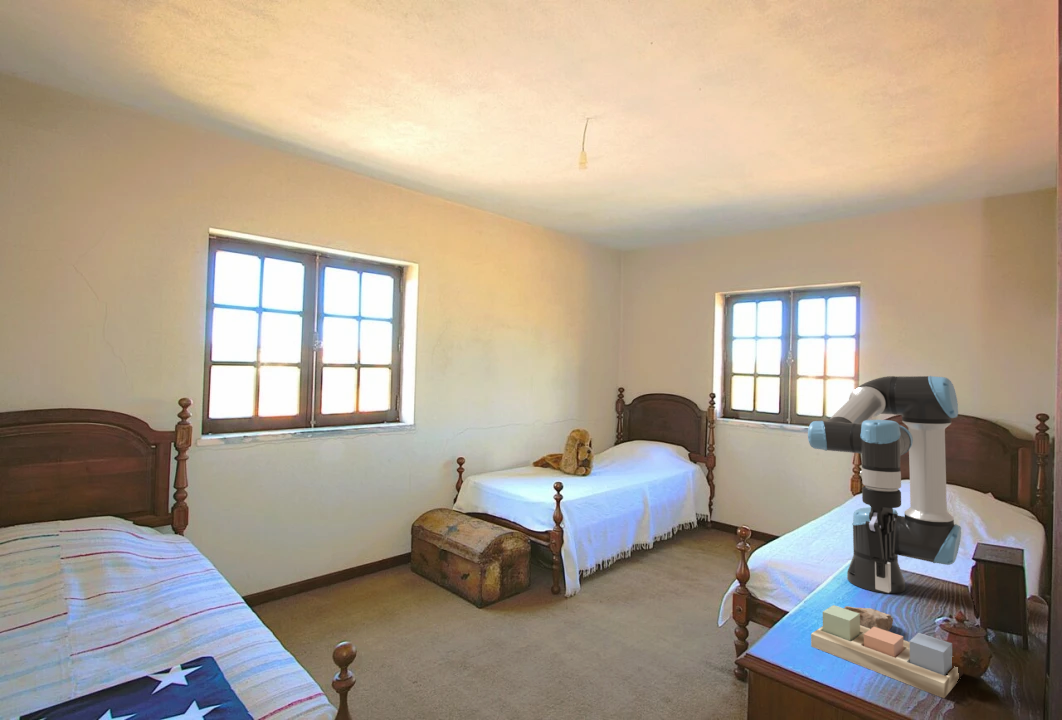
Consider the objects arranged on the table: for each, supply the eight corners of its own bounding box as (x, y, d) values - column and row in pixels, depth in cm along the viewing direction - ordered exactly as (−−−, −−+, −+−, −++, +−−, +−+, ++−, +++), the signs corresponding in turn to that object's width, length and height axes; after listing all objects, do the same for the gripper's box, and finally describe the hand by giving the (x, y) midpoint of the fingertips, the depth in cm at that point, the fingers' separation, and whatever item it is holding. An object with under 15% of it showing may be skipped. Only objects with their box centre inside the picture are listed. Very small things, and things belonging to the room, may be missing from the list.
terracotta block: (874, 647, 126) (873, 626, 126) (903, 658, 121) (903, 636, 122) (864, 656, 122) (863, 634, 123) (894, 667, 118) (893, 644, 118)
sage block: (833, 625, 133) (833, 605, 133) (859, 634, 128) (859, 613, 129) (822, 632, 130) (822, 611, 130) (849, 642, 125) (849, 620, 125)
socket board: (836, 629, 136) (836, 617, 136) (963, 674, 116) (963, 660, 116) (811, 646, 128) (811, 633, 128) (944, 698, 107) (943, 683, 107)
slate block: (919, 655, 119) (918, 632, 119) (952, 666, 114) (952, 643, 114) (909, 664, 115) (909, 641, 115) (943, 676, 111) (943, 652, 111)
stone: (882, 639, 131) (882, 619, 132) (837, 620, 142) (837, 601, 142) (902, 631, 136) (902, 612, 136) (857, 613, 146) (857, 595, 146)
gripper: (873, 480, 130) (875, 577, 129) (851, 488, 122) (853, 592, 121) (910, 486, 124) (912, 587, 124) (889, 494, 116) (891, 603, 116)
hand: (883, 590), depth 122 cm, fingers closed
